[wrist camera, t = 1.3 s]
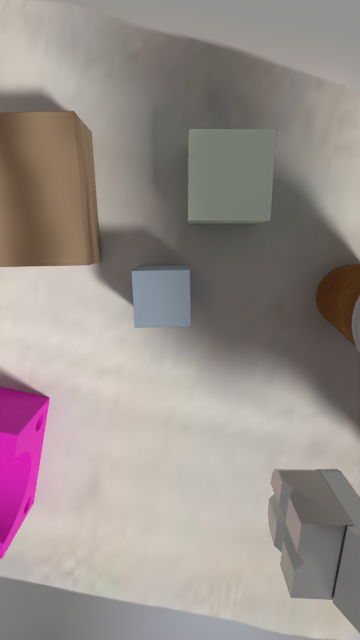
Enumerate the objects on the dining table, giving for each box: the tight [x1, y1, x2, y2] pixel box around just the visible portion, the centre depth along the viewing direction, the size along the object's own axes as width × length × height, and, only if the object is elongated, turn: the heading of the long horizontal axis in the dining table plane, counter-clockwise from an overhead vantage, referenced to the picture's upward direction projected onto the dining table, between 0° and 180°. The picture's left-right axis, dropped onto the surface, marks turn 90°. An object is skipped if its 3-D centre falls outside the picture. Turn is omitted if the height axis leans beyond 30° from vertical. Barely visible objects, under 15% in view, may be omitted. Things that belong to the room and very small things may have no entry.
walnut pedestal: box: [0, 111, 101, 267], centre depth 29 cm, size 9×12×5 cm
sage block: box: [187, 129, 277, 224], centre depth 29 cm, size 7×7×5 cm
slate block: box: [131, 265, 191, 328], centre depth 31 cm, size 5×5×6 cm
